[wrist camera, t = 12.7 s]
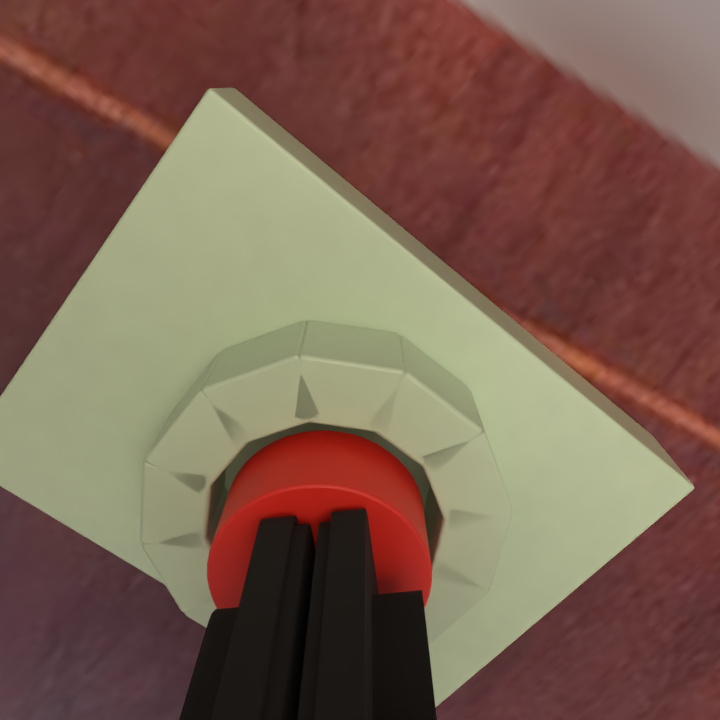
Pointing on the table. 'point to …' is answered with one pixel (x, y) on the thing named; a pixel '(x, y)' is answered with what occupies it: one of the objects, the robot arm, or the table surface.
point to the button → (323, 508)
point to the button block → (317, 389)
